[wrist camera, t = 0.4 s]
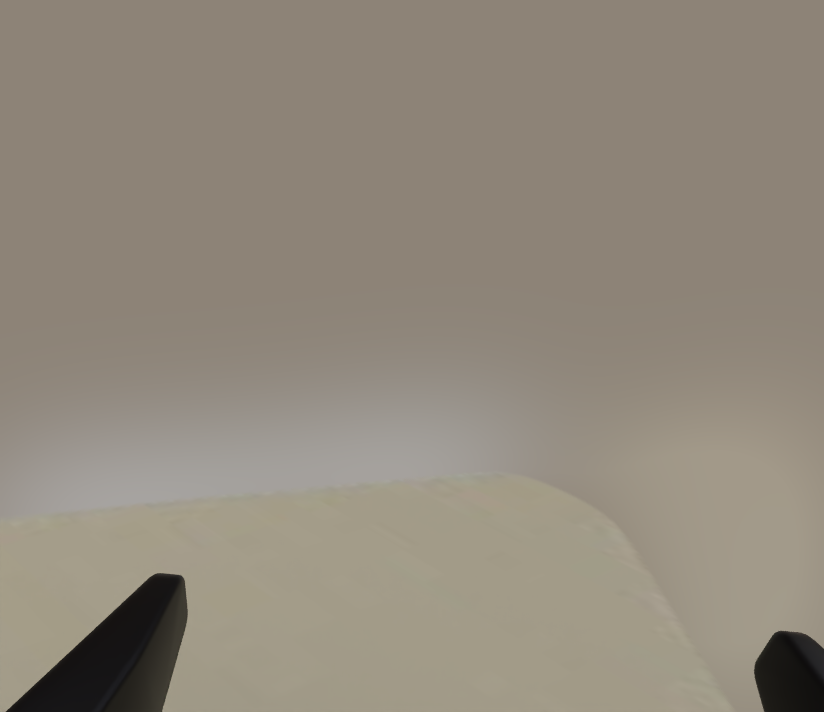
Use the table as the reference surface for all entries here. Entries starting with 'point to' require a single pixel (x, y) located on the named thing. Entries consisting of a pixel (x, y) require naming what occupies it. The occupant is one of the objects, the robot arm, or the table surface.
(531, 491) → the table surface
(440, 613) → the table surface
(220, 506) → the table surface
